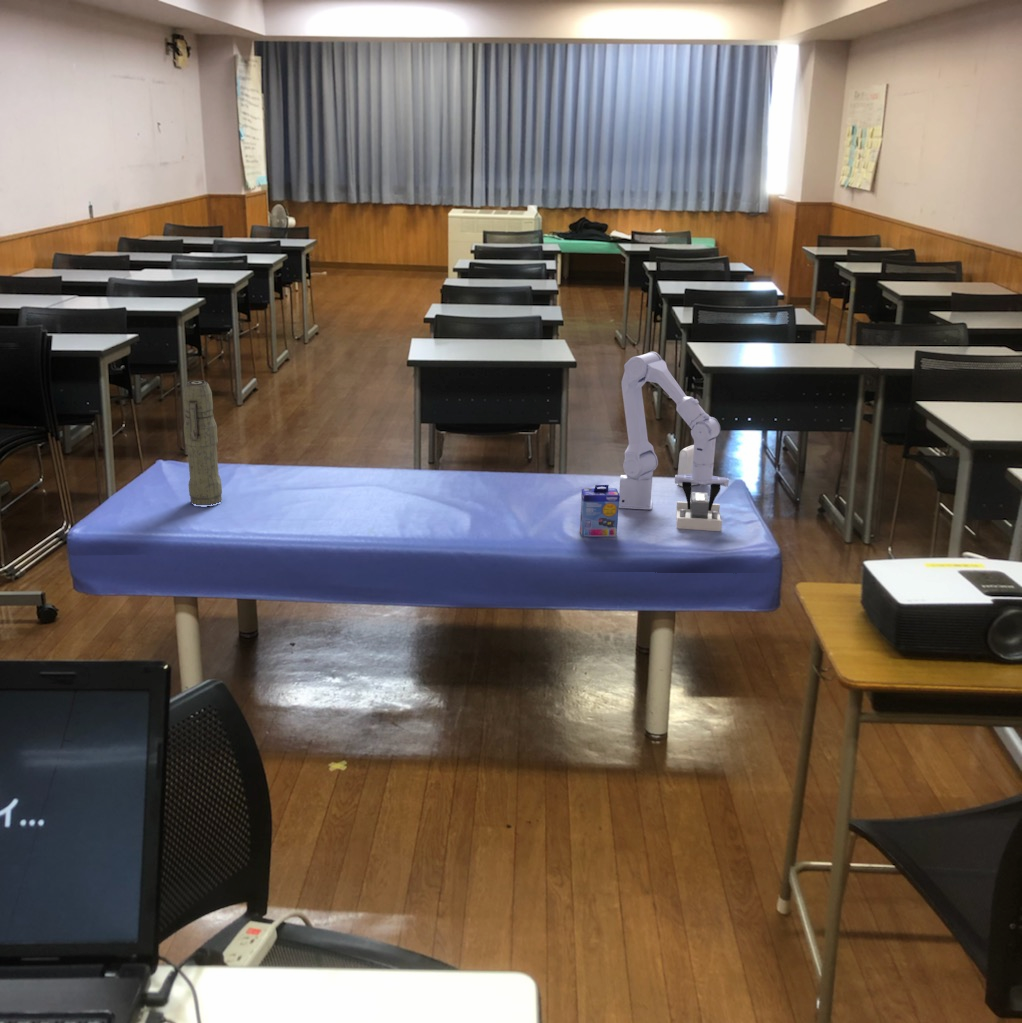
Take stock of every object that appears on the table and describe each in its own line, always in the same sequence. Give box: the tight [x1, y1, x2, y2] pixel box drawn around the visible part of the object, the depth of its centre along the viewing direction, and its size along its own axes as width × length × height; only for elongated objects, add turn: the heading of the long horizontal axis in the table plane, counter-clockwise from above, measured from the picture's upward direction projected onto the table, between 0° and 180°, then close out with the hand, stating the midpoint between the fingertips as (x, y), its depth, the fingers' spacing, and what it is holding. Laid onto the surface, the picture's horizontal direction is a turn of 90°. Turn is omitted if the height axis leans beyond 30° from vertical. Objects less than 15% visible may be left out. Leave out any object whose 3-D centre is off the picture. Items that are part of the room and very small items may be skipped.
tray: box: [675, 500, 723, 532], centre depth 301 cm, size 12×14×3 cm
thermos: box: [182, 379, 223, 505], centre depth 302 cm, size 9×12×35 cm
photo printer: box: [677, 444, 698, 487], centre depth 330 cm, size 10×4×12 cm, turn 123°
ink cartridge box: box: [579, 484, 620, 538], centre depth 288 cm, size 10×6×14 cm, turn 95°
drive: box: [690, 491, 709, 519], centre depth 300 cm, size 4×9×6 cm, turn 172°
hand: (699, 508), depth 300 cm, fingers open, 5 cm apart
